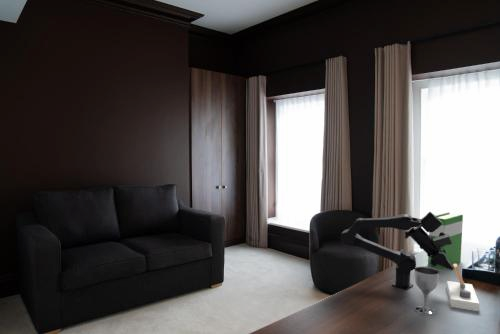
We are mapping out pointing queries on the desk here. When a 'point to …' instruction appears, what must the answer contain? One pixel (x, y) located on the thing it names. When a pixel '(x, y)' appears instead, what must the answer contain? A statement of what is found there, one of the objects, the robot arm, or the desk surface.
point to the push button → (465, 293)
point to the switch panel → (461, 301)
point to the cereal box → (454, 230)
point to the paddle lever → (459, 276)
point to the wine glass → (426, 286)
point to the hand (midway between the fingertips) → (452, 269)
